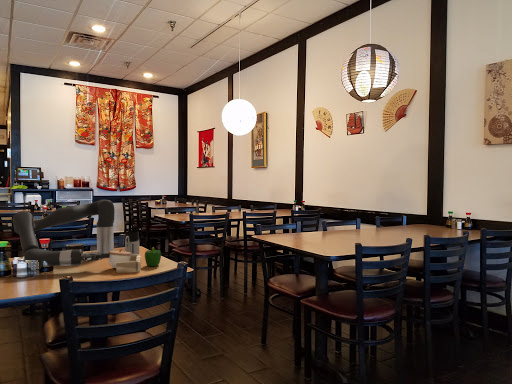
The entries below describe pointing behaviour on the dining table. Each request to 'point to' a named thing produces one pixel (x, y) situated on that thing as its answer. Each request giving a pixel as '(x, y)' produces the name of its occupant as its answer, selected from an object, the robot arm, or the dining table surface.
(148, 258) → the bell pepper
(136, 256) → the cedar bay
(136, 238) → the electric kettle
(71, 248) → the coffee mug
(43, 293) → the dining table surface
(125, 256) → the lidded jar
